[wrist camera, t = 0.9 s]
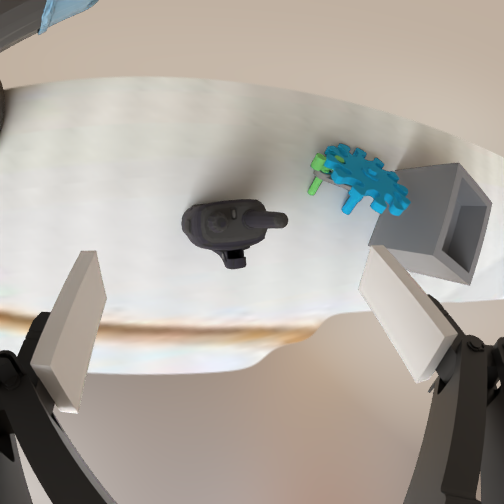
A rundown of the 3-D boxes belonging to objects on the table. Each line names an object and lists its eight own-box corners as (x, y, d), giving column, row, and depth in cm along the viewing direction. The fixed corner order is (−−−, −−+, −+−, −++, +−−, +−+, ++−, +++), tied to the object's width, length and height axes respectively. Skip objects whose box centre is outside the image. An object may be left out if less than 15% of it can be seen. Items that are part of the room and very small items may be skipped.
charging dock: (368, 245, 35) (432, 255, 25) (395, 170, 35) (458, 162, 26) (411, 272, 37) (471, 286, 28) (434, 204, 38) (493, 204, 28)
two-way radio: (235, 201, 30) (311, 189, 16) (240, 248, 30) (317, 277, 16) (176, 207, 28) (200, 197, 14) (181, 256, 29) (210, 295, 15)
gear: (398, 161, 33) (426, 218, 26) (373, 197, 37) (392, 258, 31) (313, 124, 31) (324, 176, 24) (292, 167, 35) (295, 227, 29)
